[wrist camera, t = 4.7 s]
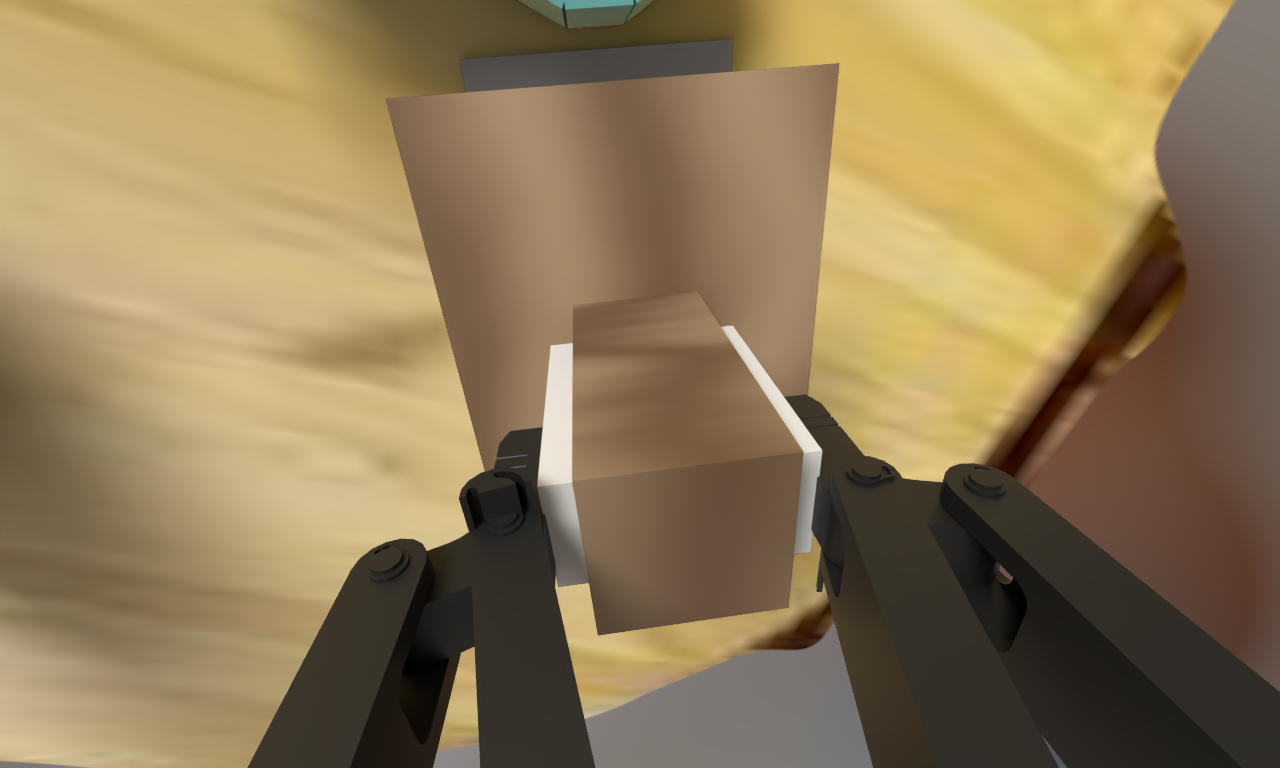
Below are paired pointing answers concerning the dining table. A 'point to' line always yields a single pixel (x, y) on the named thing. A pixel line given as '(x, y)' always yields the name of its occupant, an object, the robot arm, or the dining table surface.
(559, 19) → the teal bowl
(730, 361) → the walnut lid
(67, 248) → the dining table surface
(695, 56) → the charcoal mat
